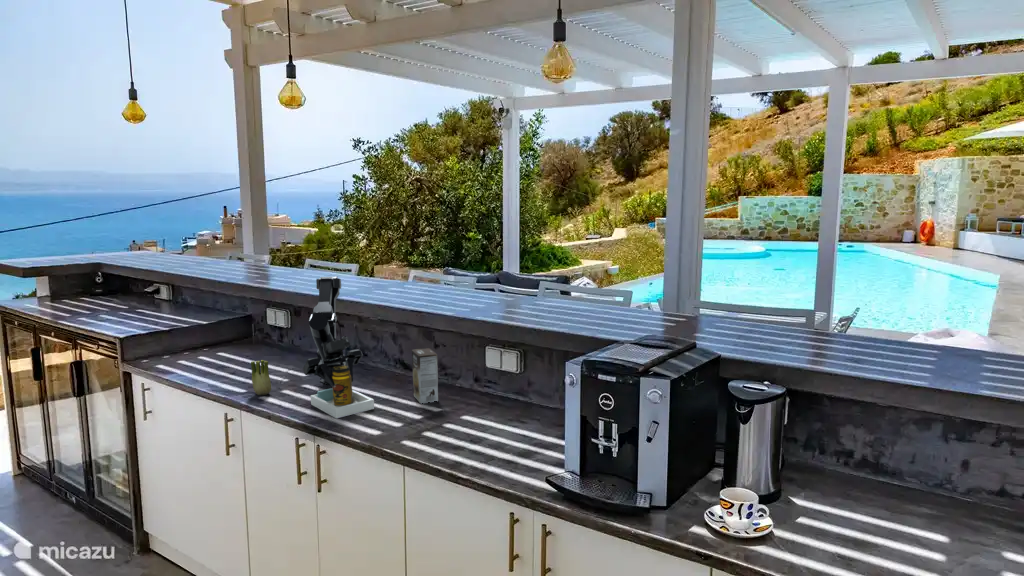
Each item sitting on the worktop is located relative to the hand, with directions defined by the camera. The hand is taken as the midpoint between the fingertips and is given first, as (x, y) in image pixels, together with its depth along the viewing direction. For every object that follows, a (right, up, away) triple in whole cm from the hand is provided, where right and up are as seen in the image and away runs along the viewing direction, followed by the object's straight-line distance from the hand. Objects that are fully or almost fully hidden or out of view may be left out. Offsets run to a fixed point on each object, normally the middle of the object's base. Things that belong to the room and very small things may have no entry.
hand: (343, 383), depth 206 cm
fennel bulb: (-32, -6, +16) cm, 36 cm away
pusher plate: (-5, -6, +7) cm, 10 cm away
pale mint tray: (-1, -8, +2) cm, 8 cm away
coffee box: (+25, -6, +9) cm, 27 cm away
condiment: (0, -7, +3) cm, 7 cm away
